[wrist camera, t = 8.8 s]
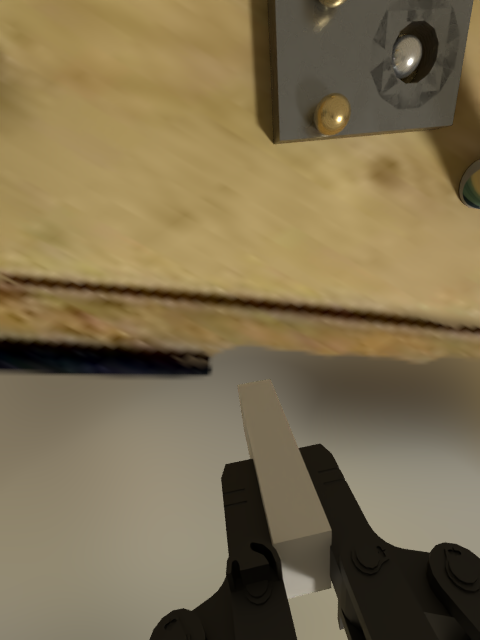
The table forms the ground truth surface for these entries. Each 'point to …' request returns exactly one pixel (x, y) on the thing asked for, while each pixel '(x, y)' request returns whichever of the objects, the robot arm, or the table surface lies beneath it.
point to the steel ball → (406, 55)
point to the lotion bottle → (471, 186)
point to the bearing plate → (364, 64)
